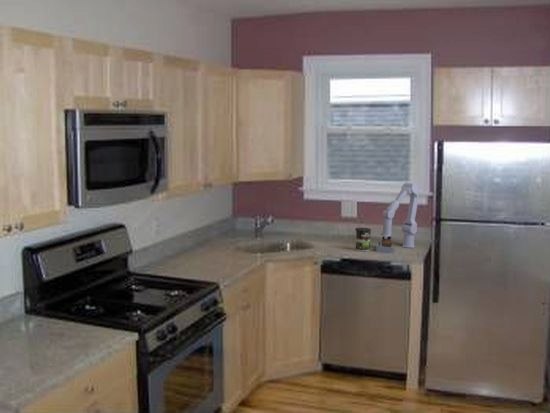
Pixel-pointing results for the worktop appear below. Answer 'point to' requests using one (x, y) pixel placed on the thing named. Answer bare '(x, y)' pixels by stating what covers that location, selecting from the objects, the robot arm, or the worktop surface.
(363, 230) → the coffee can
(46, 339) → the worktop surface
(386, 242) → the cabinet block
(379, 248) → the cleat wall
